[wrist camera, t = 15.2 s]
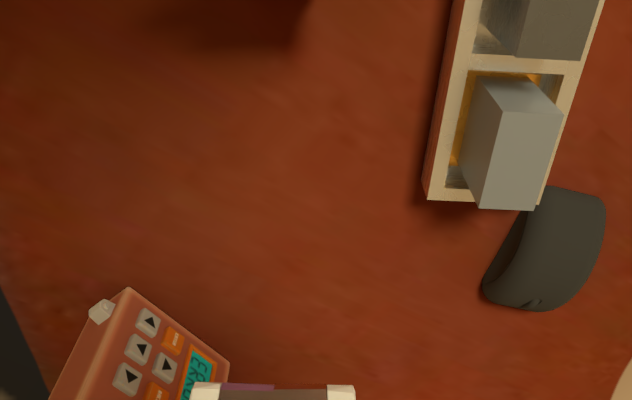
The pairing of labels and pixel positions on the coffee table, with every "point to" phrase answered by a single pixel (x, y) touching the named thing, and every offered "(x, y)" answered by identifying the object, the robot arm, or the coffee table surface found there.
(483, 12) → the tray
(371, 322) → the coffee table surface
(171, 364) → the control panel
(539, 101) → the grey block
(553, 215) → the computer mouse
